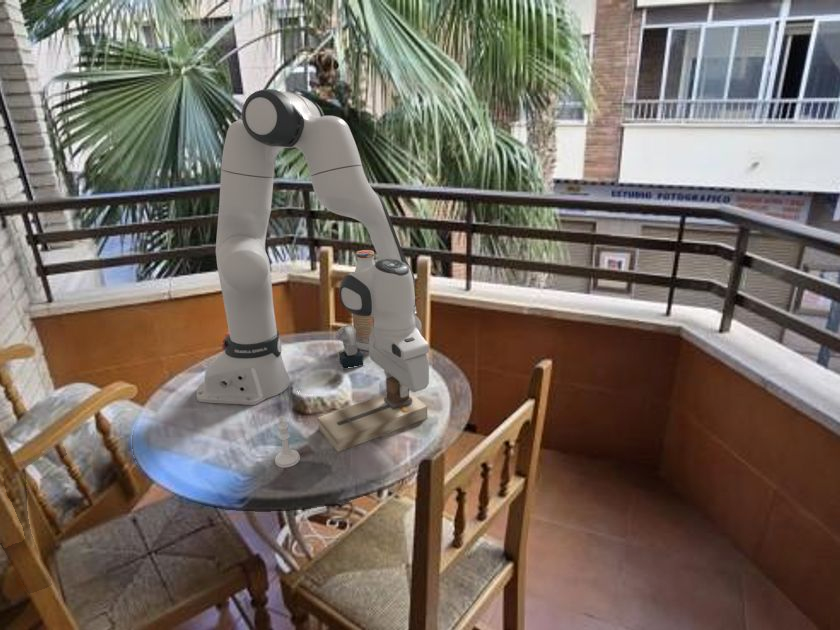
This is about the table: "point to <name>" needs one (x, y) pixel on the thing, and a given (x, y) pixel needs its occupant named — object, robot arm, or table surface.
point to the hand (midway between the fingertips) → (397, 391)
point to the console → (368, 421)
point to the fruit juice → (363, 322)
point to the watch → (349, 347)
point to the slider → (395, 394)
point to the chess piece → (286, 448)
